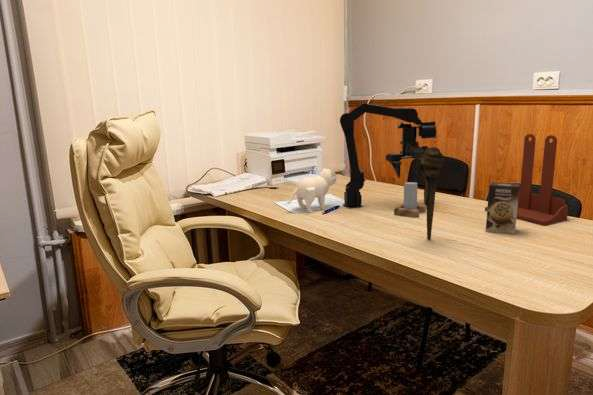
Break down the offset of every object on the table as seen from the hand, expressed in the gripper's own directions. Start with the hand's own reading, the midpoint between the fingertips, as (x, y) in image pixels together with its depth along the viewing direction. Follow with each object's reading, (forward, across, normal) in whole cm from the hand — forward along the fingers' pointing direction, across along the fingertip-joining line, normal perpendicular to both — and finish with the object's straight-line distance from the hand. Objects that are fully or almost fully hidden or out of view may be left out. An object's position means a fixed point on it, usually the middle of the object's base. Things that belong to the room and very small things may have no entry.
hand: (408, 176), depth 177 cm
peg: (+12, -6, -10) cm, 17 cm away
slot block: (+12, -6, -10) cm, 17 cm away
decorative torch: (+13, -18, -40) cm, 46 cm away
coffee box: (+13, +9, -42) cm, 45 cm away
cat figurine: (+13, -38, +13) cm, 42 cm away
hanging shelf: (+13, +30, -32) cm, 45 cm away
